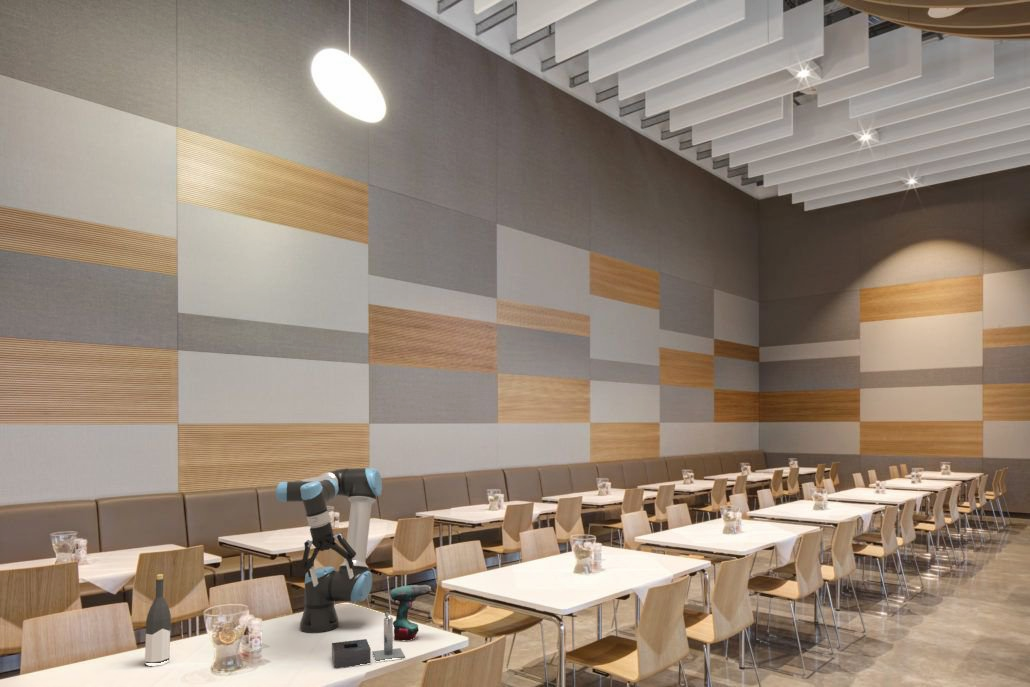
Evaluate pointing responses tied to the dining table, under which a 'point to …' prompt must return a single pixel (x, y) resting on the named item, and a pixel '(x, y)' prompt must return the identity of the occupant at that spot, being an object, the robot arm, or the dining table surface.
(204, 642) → the dining table surface
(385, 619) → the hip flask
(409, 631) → the power drill
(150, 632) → the wine bottle
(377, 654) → the mat
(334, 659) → the chuck block
